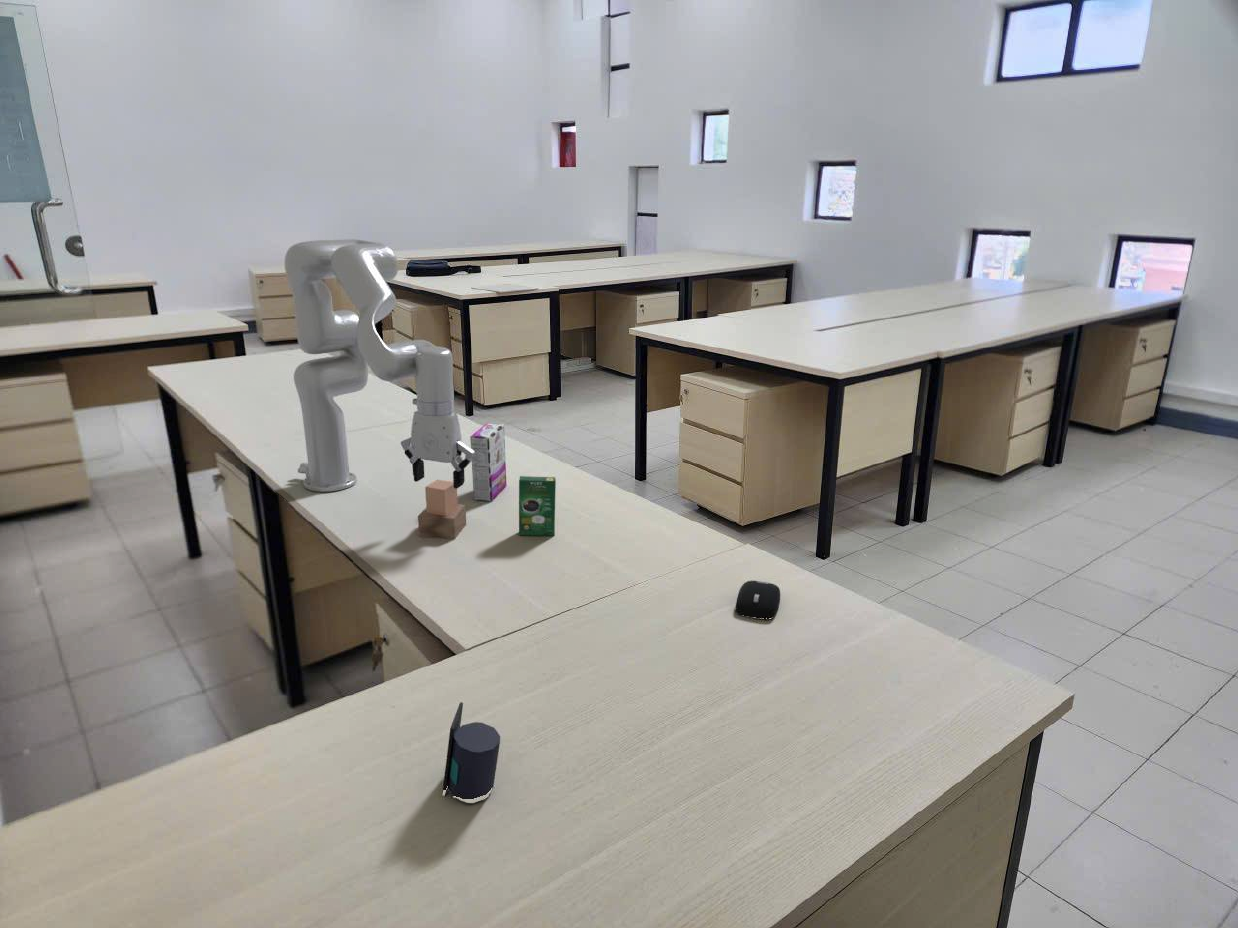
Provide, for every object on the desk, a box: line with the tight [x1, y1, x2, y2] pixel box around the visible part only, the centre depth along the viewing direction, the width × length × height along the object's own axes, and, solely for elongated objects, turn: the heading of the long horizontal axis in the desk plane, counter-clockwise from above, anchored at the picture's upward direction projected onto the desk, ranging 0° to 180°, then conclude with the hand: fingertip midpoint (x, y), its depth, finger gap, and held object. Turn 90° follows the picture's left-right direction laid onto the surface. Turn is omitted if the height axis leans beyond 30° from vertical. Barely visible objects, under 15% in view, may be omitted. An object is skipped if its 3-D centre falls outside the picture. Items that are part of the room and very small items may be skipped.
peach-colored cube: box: [424, 479, 459, 516], centre depth 177 cm, size 5×5×6 cm
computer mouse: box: [735, 580, 781, 619], centre depth 151 cm, size 8×12×4 cm, turn 160°
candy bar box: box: [470, 422, 507, 502], centre depth 199 cm, size 11×5×16 cm, turn 168°
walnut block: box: [417, 504, 467, 540], centre depth 179 cm, size 8×8×5 cm
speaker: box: [442, 702, 501, 799], centre depth 103 cm, size 8×6×10 cm
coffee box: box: [518, 475, 557, 537], centre depth 177 cm, size 8×3×13 cm, turn 92°
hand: (438, 482), depth 177 cm, fingers open, 9 cm apart
